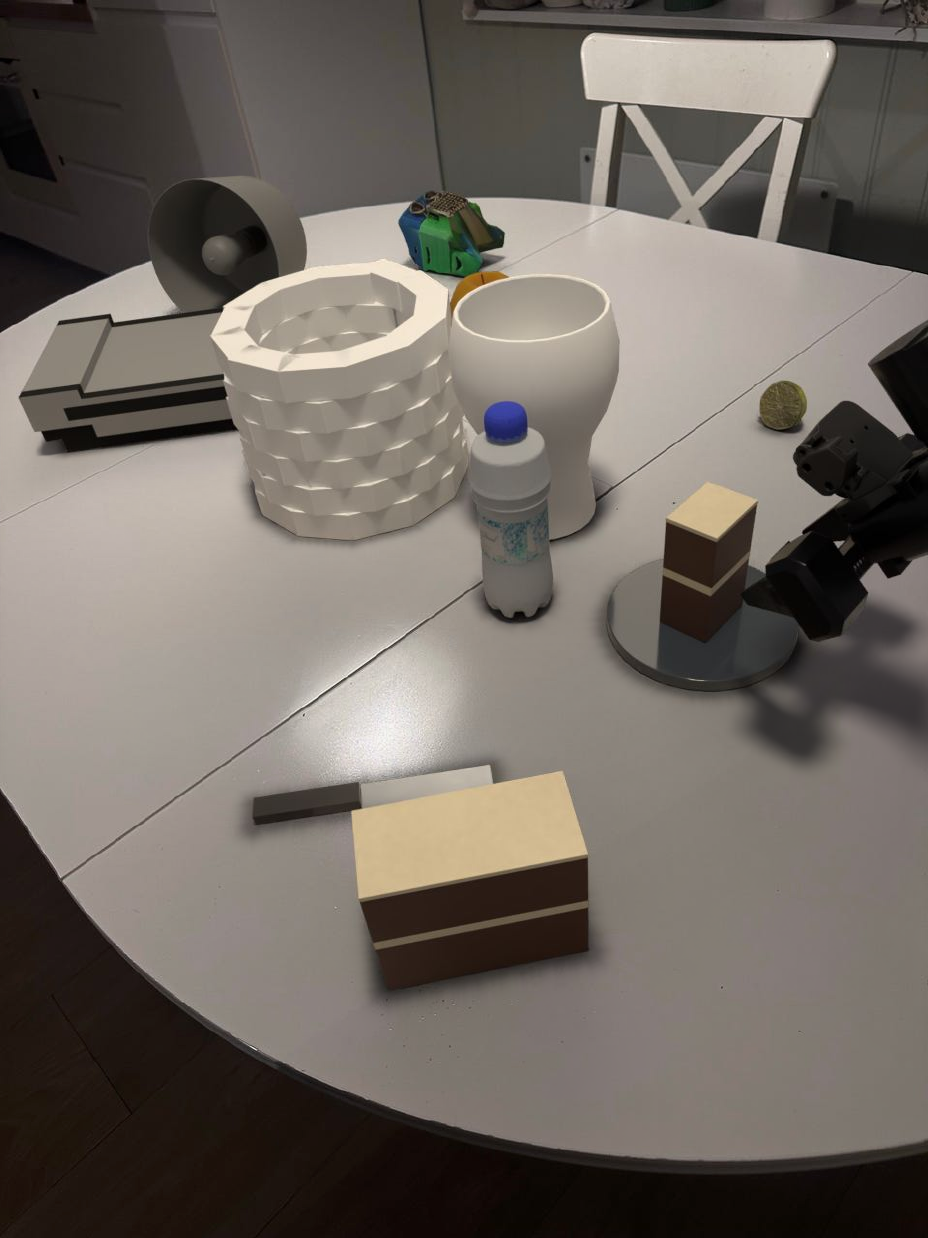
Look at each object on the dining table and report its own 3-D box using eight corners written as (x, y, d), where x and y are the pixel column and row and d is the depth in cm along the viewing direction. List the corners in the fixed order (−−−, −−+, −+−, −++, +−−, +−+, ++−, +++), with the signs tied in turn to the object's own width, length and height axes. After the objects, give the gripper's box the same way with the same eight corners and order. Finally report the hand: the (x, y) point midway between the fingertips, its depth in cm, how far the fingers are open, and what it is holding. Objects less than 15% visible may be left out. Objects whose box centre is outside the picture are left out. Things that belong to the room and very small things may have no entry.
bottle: (472, 590, 86) (449, 398, 72) (538, 569, 87) (527, 376, 74) (499, 635, 81) (480, 438, 68) (568, 612, 82) (563, 414, 69)
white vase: (631, 475, 97) (637, 273, 82) (596, 565, 87) (596, 353, 72) (494, 459, 102) (477, 266, 87) (445, 543, 91) (417, 339, 77)
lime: (804, 435, 99) (811, 393, 96) (757, 434, 100) (763, 392, 97) (801, 413, 103) (809, 372, 99) (756, 412, 104) (762, 372, 100)
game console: (309, 422, 112) (294, 359, 106) (47, 458, 111) (18, 397, 106) (313, 345, 127) (300, 287, 121) (82, 377, 127) (59, 320, 121)
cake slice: (742, 604, 79) (758, 499, 72) (705, 643, 76) (717, 538, 69) (697, 584, 82) (707, 481, 74) (659, 621, 79) (665, 517, 71)
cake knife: (490, 767, 70) (489, 758, 70) (494, 792, 69) (493, 784, 68) (256, 802, 70) (253, 794, 69) (255, 828, 68) (251, 820, 68)
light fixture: (256, 173, 117) (345, 140, 138) (96, 187, 126) (202, 153, 146) (292, 333, 129) (369, 280, 149) (142, 335, 137) (235, 285, 158)
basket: (351, 571, 90) (310, 397, 77) (212, 488, 103) (158, 328, 90) (521, 455, 102) (510, 288, 89) (377, 394, 115) (350, 242, 102)
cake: (566, 870, 63) (562, 770, 56) (588, 950, 59) (588, 854, 51) (379, 906, 63) (350, 810, 55) (388, 991, 58) (358, 899, 51)
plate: (810, 583, 82) (813, 573, 81) (779, 711, 72) (781, 701, 71) (635, 551, 88) (635, 541, 87) (582, 665, 77) (582, 655, 77)
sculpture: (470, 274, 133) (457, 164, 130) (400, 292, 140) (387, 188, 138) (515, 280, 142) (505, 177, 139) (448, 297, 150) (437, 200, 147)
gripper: (953, 327, 61) (778, 425, 74) (817, 456, 52) (645, 542, 65) (1044, 465, 62) (854, 537, 75) (926, 616, 52) (734, 668, 66)
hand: (776, 566), depth 70 cm, fingers open, 9 cm apart
